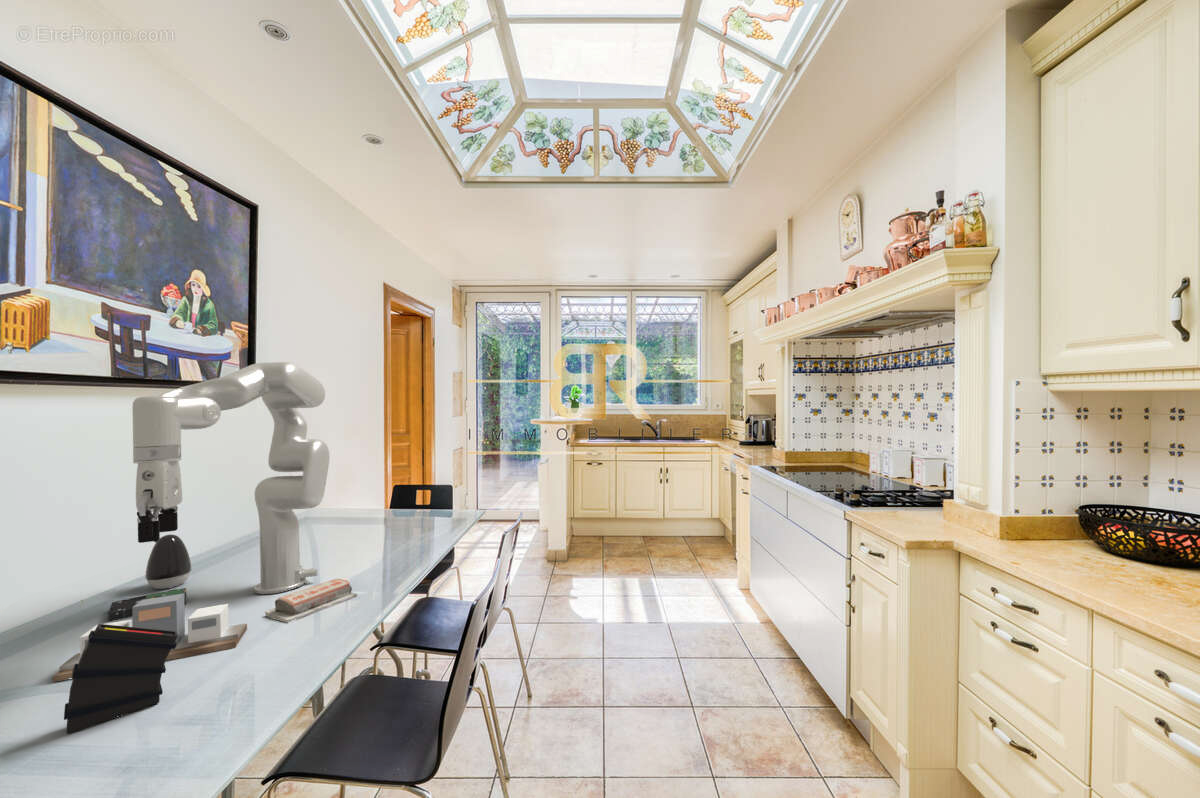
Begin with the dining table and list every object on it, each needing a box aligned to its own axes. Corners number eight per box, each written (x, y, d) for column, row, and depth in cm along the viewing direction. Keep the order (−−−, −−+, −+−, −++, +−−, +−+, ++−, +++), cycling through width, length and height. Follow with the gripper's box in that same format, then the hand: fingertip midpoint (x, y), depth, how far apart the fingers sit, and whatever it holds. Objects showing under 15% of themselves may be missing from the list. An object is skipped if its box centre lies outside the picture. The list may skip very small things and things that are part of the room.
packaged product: (334, 575, 135) (357, 580, 130) (334, 593, 135) (357, 598, 130) (263, 598, 119) (287, 604, 114) (264, 618, 119) (287, 625, 114)
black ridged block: (35, 725, 75) (95, 622, 80) (142, 725, 83) (189, 632, 89) (34, 736, 72) (95, 629, 77) (143, 734, 81) (192, 638, 86)
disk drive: (107, 625, 119) (187, 606, 129) (107, 613, 119) (187, 595, 129) (111, 612, 126) (186, 596, 136) (111, 602, 126) (186, 586, 136)
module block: (184, 635, 105) (184, 593, 105) (176, 644, 100) (176, 600, 101) (142, 643, 102) (142, 599, 102) (132, 652, 97) (131, 607, 98)
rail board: (247, 628, 112) (246, 620, 112) (235, 647, 103) (235, 637, 103) (82, 658, 100) (82, 649, 100) (52, 682, 91) (52, 671, 91)
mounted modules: (228, 626, 109) (228, 603, 109) (220, 637, 103) (219, 614, 103) (96, 649, 99) (96, 625, 100) (79, 663, 94) (79, 637, 94)
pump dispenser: (171, 580, 150) (170, 530, 150) (200, 580, 148) (199, 530, 149) (135, 592, 140) (134, 539, 140) (166, 592, 138) (165, 539, 139)
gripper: (164, 456, 96) (165, 543, 96) (194, 451, 112) (195, 525, 111) (113, 459, 93) (115, 549, 93) (151, 453, 109) (153, 530, 108)
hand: (158, 536), depth 102 cm, fingers open, 9 cm apart
